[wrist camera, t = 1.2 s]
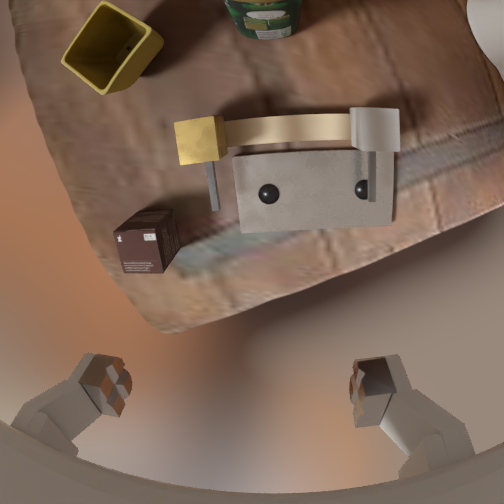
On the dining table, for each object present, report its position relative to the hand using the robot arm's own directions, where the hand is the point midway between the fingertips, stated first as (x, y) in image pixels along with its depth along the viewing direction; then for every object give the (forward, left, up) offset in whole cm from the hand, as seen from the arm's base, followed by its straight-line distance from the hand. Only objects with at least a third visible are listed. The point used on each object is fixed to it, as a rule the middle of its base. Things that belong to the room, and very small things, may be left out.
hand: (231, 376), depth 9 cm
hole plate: (-6, +2, -30) cm, 31 cm away
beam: (-4, -3, -30) cm, 31 cm away
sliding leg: (+6, -3, -27) cm, 28 cm away
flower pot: (+15, -19, -31) cm, 39 cm away
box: (+16, +6, -31) cm, 35 cm away
